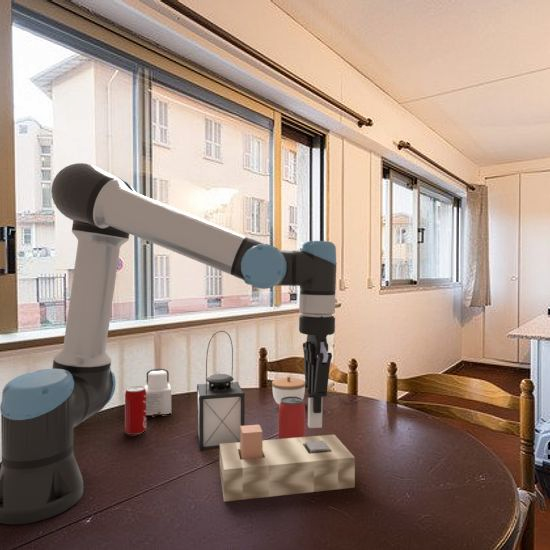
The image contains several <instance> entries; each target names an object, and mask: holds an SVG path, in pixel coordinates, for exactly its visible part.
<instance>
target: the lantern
mask: <svg viewBox="0 0 550 550" xmlns="http://www.w3.org/2000/svg"><path fill="white" fill-rule="evenodd" d="M221 332H222V333H225V334H227V335H228V337H229V340H230V343H231V345H233V341H232V338H231V336H230V334H229V333H228V332H227V331H224V330H219V331H216V332H215V333H214V334H213V335H212V336H211V338H210V340H209V342H208V345H207V351H206V362H205V383H197V386H196V396H197V397H196V404H197V405H196V434H197V438H198V439H197V440H198V450H199V452H203V451H212V450H220V444H223V443H235V442H240V426H245V417H246V416H245V412H246V411H245V410H246V409H245V400H246V399H245V395H246V394H245V391H243V390H242V388H241V385H240V384H239V382H238V381H234V377H233V376H232V375H229V374H227V373H217V374H211V375H210V376H208V356H209V355H208V353H209V347H210V343H211V342H212V339H213V338H214V337H215V335H216V334H218V333H221ZM233 363H234V348H233V346H231V373H234V372H233V370H234V369H233V368H234V367H233V366H234V365H233Z"/></svg>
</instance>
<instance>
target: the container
mask: <svg viewBox="0 0 550 550" xmlns="http://www.w3.org/2000/svg"><path fill="white" fill-rule="evenodd" d="M169 374H170V373H169V371H168V369H165V368H154V369H149V370H148V371H147V372H146V385H144V387H145V389H146V415H153V414H169V413H171V414H172V389H171V388H172V387H171V383H169V382H170V379H169V378H170V377H169Z"/></svg>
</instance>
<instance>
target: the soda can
mask: <svg viewBox="0 0 550 550" xmlns="http://www.w3.org/2000/svg"><path fill="white" fill-rule="evenodd" d="M146 430H147V417H146V389H145V385H144V386H143V385H134V386H130V387H129V386H128V387H127V388H126V389H125V394H124V432H125V433H126V434H127V433H128V434H139V433H142V432H144V431H145V432H146ZM145 432H144V433H145ZM128 434H127V435H128ZM142 434H143V433H142ZM139 435H140V434H139Z"/></svg>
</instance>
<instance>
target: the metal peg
mask: <svg viewBox="0 0 550 550" xmlns="http://www.w3.org/2000/svg"><path fill="white" fill-rule="evenodd" d="M305 448H306V450H307V452H308V453H309V454H310V453H321V452H329V447H328V446H327V445H326V444H325V442H324V441H312V442H305Z"/></svg>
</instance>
